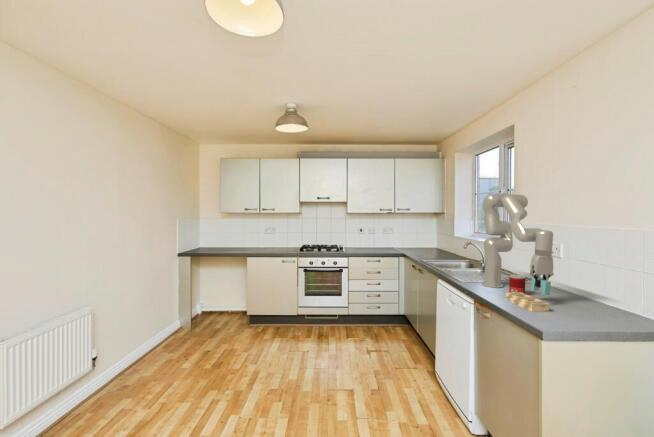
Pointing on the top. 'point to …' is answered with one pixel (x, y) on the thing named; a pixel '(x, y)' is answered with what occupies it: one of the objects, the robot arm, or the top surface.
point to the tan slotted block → (527, 302)
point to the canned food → (517, 284)
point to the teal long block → (544, 284)
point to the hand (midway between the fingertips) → (540, 286)
